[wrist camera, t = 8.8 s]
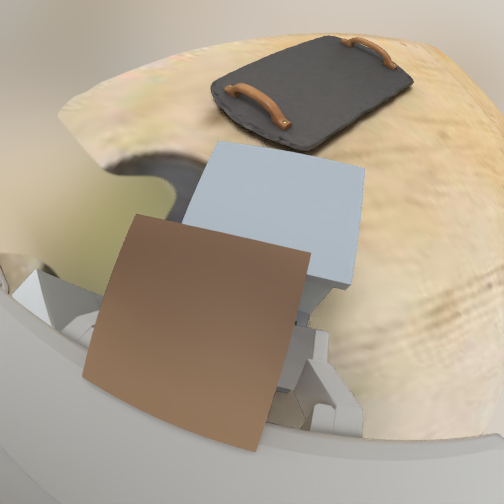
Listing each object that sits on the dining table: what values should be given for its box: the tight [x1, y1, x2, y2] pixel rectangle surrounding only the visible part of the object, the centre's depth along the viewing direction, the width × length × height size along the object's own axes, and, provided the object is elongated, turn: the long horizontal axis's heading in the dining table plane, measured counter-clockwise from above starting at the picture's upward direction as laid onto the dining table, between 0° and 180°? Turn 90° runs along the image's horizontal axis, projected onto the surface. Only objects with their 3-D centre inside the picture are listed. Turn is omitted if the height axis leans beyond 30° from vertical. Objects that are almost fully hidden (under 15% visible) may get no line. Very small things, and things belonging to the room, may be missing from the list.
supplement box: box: [11, 269, 104, 332], centre depth 24 cm, size 7×7×13 cm
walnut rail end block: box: [82, 214, 311, 452], centre depth 11 cm, size 4×4×12 cm
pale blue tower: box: [182, 141, 365, 393], centre depth 21 cm, size 14×9×17 cm, turn 164°
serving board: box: [211, 36, 414, 154], centre depth 39 cm, size 39×23×6 cm, turn 130°
